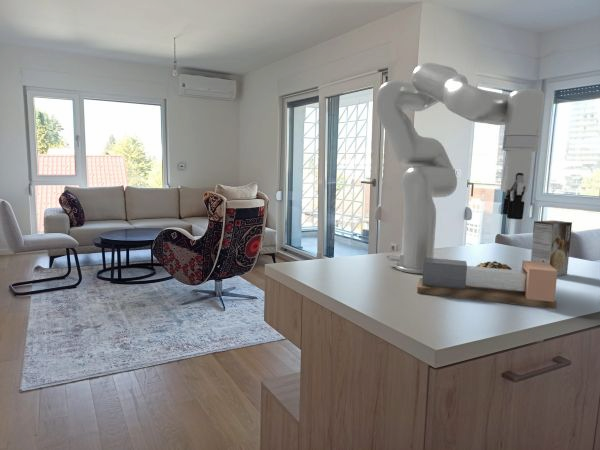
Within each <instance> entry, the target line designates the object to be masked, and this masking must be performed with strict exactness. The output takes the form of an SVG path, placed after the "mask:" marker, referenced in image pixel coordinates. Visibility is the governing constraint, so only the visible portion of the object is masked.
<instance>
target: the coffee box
mask: <svg viewBox="0 0 600 450" xmlns="http://www.w3.org/2000/svg"><path fill="white" fill-rule="evenodd" d="M572 225H573V222H572V221H571V222H570V221H562V220H535V221H533V227H532V229H533V231H532V241H531V252H530V253H531V254H530V261H535V262H547V263H549V264H550V265H551V266H552V267H553V268H555V269H556V270H557V271H558V272H557V277H559V276H565V275H568V270H569V257H570V248H571V238H572V227H573V226H572Z"/></svg>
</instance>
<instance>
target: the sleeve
mask: <svg viewBox="0 0 600 450" xmlns="http://www.w3.org/2000/svg"><path fill="white" fill-rule="evenodd" d="M467 266H468V265H467V260H458V259H457V260H456V259H448V258H446V259H445V258H437V257H434V258H425V259H424V265H423V274H422V278H423V281H422V286H431V287H441V288H450V289H459V290H465V286H466V273H467Z"/></svg>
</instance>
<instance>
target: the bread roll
mask: <svg viewBox="0 0 600 450" xmlns="http://www.w3.org/2000/svg"><path fill="white" fill-rule="evenodd" d="M475 267H486V268H497V269H508V270H513V269H512V267H510V266H509V265H508V264H506V263H505V264H504V263H503V264H502V263H501V262H497V261H496V260H494V261H487V262H480V263H478V264H476V265H475Z"/></svg>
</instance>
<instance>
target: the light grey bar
mask: <svg viewBox="0 0 600 450" xmlns="http://www.w3.org/2000/svg"><path fill="white" fill-rule="evenodd" d="M526 280H527V272H526V271H521V270H518V269H512V270H508V269H497V268H486V267H476V265H475V266H473V265H467V273H466V285H469V286H479V287H489V288H498V289H508V290H518V291H526Z"/></svg>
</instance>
